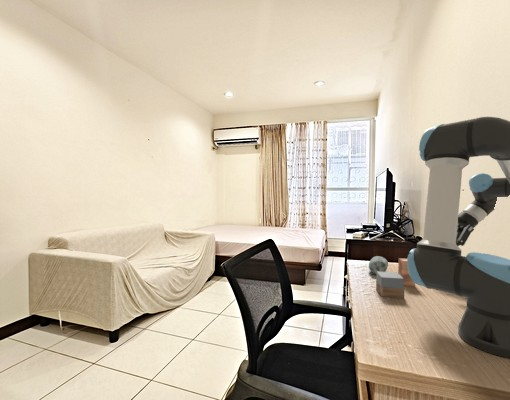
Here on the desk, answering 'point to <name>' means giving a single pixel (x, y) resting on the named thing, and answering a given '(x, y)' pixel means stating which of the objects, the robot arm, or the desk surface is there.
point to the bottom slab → (390, 291)
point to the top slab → (390, 280)
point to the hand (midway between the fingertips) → (432, 250)
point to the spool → (378, 264)
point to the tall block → (404, 272)
